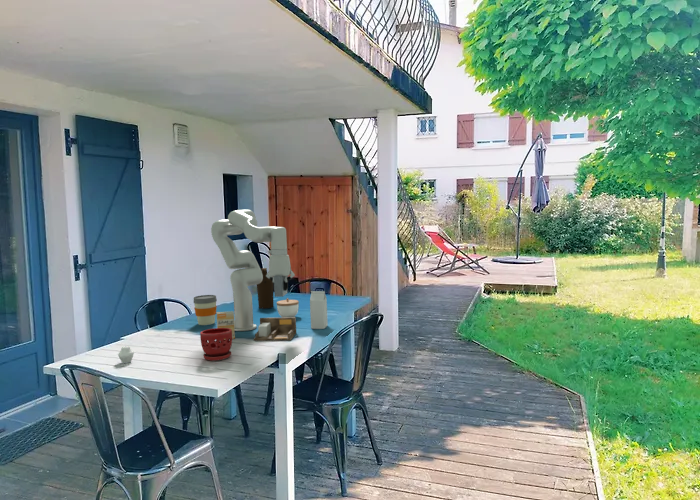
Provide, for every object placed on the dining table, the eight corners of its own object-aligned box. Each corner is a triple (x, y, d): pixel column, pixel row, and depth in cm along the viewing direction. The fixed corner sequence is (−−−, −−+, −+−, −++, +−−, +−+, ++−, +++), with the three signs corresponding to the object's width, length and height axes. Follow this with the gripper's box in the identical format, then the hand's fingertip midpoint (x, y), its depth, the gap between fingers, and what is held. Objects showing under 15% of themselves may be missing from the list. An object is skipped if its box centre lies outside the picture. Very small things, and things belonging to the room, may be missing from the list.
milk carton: (324, 329, 263) (322, 292, 261) (311, 329, 264) (309, 292, 263) (327, 326, 270) (326, 290, 268) (314, 325, 271) (313, 290, 270)
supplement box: (217, 340, 248) (216, 313, 247) (217, 338, 253) (216, 312, 251) (235, 338, 250) (233, 312, 249) (234, 336, 255) (233, 310, 254)
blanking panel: (274, 296, 244) (273, 275, 243) (279, 293, 254) (278, 273, 253) (282, 296, 244) (282, 275, 243) (287, 292, 254) (286, 272, 253)
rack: (253, 340, 245) (252, 324, 244) (261, 333, 259) (260, 317, 258) (290, 340, 243) (289, 323, 243) (296, 332, 257) (295, 317, 257)
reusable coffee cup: (214, 325, 281) (213, 298, 280) (191, 326, 281) (190, 299, 280) (220, 320, 294) (218, 294, 292) (198, 321, 294) (196, 295, 292)
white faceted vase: (136, 359, 221) (135, 343, 220) (131, 364, 215) (130, 347, 214) (122, 360, 221) (121, 344, 220) (116, 364, 214) (114, 348, 214)
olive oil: (277, 306, 327) (275, 267, 325) (263, 309, 320) (261, 269, 318) (268, 304, 335) (266, 266, 333) (254, 307, 328) (252, 268, 326)
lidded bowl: (273, 319, 290) (273, 300, 289) (282, 314, 303) (281, 296, 302) (295, 319, 287) (294, 300, 287) (302, 315, 300) (301, 296, 299)
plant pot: (239, 356, 220) (238, 329, 219) (213, 364, 210) (211, 335, 209) (221, 351, 228) (220, 325, 227) (195, 359, 218) (193, 331, 217)
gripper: (260, 253, 244) (262, 291, 246) (294, 253, 243) (296, 291, 244) (264, 252, 252) (266, 289, 253) (297, 251, 250) (299, 288, 252)
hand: (281, 289), depth 249 cm, fingers closed on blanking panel, 4 cm apart
